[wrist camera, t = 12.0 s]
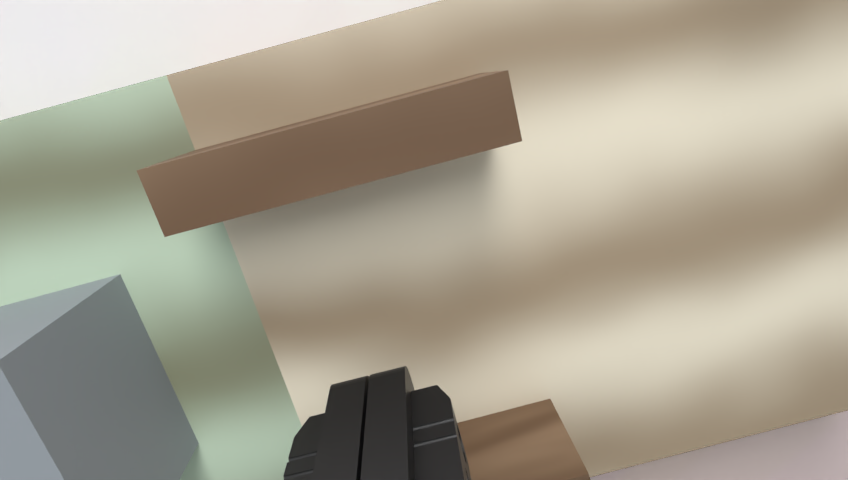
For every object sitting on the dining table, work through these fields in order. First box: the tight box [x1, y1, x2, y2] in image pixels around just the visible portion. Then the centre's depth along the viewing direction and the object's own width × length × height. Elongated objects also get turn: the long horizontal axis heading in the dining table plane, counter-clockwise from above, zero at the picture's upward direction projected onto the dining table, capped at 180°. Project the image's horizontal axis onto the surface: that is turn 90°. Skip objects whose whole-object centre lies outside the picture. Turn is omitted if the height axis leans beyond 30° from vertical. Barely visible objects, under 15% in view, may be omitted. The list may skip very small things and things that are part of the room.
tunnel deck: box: [0, 0, 848, 480], centre depth 16 cm, size 16×35×6 cm, turn 105°
